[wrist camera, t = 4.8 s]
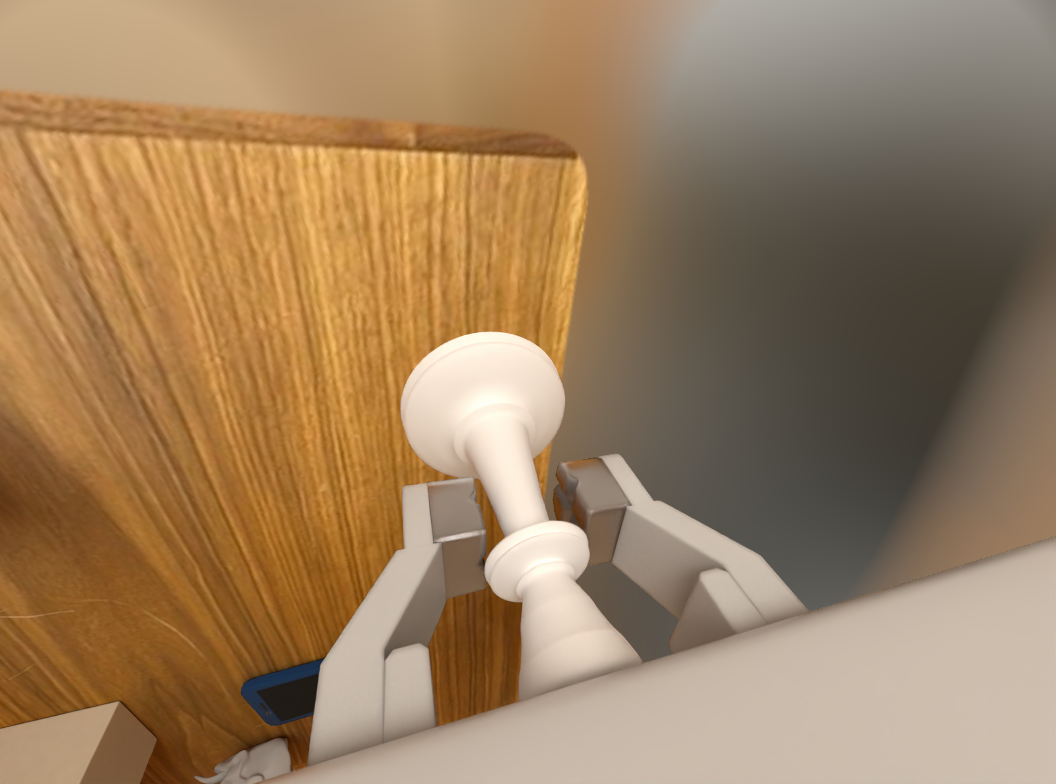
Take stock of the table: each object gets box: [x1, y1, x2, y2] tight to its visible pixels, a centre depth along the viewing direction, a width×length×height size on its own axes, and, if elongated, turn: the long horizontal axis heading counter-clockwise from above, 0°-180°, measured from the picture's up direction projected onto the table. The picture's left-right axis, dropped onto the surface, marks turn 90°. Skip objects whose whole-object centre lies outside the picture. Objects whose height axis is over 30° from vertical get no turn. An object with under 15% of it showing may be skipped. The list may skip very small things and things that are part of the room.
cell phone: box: [241, 659, 324, 726], centre depth 36 cm, size 7×14×1 cm, turn 91°
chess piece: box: [401, 332, 643, 702], centre depth 8 cm, size 5×5×10 cm
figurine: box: [194, 738, 293, 784], centre depth 37 cm, size 4×8×5 cm, turn 79°
